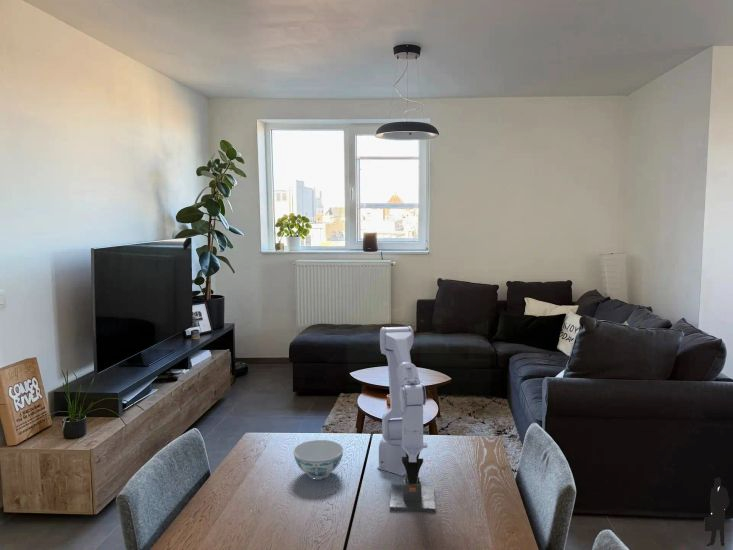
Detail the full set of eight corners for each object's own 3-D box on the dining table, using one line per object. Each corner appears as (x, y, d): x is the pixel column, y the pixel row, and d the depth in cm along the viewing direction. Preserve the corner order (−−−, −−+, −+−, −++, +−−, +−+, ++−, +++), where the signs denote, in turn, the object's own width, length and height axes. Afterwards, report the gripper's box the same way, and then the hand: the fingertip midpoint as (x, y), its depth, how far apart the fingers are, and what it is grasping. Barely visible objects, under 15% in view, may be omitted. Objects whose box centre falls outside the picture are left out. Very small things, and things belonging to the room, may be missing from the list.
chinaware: (284, 481, 156) (284, 455, 155) (308, 460, 170) (308, 437, 169) (330, 490, 151) (329, 464, 150) (351, 468, 164) (351, 444, 164)
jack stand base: (389, 510, 140) (389, 490, 139) (391, 488, 152) (391, 469, 151) (435, 512, 139) (435, 492, 138) (433, 489, 150) (433, 471, 150)
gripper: (428, 439, 136) (428, 489, 137) (426, 418, 150) (426, 464, 151) (400, 438, 136) (400, 488, 137) (401, 418, 151) (401, 464, 152)
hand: (412, 476), depth 144 cm, fingers open, 7 cm apart
